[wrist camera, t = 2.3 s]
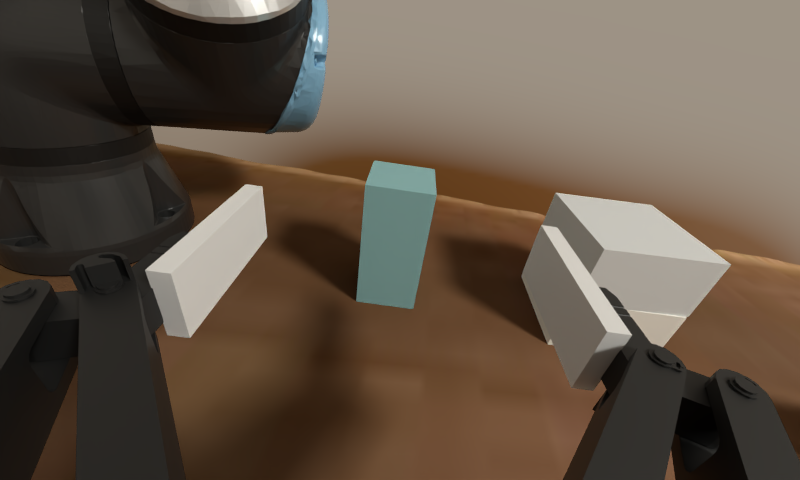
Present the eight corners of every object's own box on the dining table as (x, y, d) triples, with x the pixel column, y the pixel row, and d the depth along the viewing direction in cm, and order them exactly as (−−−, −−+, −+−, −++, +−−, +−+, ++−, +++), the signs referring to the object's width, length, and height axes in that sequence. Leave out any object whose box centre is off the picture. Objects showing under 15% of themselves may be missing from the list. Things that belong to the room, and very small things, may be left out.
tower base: (546, 346, 28) (570, 302, 25) (520, 278, 36) (536, 238, 33) (651, 360, 28) (686, 318, 26) (603, 289, 36) (626, 251, 33)
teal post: (356, 301, 29) (365, 184, 23) (364, 266, 33) (374, 160, 28) (413, 309, 29) (436, 194, 23) (414, 273, 34) (434, 169, 28)
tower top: (574, 303, 25) (604, 249, 23) (536, 239, 33) (555, 192, 30) (688, 316, 26) (731, 265, 23) (624, 250, 33) (651, 205, 31)
